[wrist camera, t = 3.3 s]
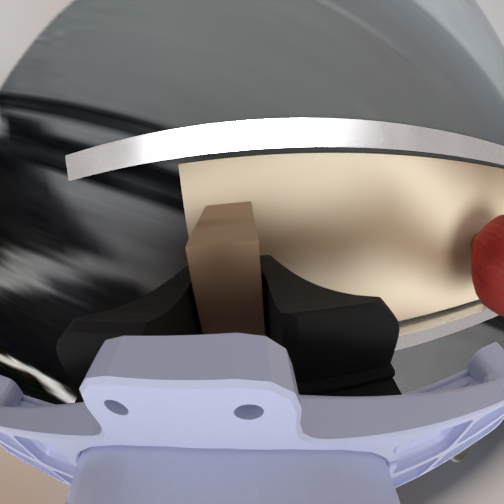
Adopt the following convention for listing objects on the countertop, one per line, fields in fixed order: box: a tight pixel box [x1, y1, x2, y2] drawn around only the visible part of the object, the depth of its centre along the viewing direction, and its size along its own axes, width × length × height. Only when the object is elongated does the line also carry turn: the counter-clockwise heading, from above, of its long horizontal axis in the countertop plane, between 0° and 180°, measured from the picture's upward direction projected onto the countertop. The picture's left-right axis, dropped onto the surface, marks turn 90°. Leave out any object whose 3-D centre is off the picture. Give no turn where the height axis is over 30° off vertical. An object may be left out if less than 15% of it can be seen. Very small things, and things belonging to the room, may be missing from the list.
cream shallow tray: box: [178, 152, 504, 336], centre depth 11 cm, size 10×22×6 cm, turn 94°
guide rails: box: [65, 118, 504, 351], centre depth 13 cm, size 13×30×2 cm, turn 95°
